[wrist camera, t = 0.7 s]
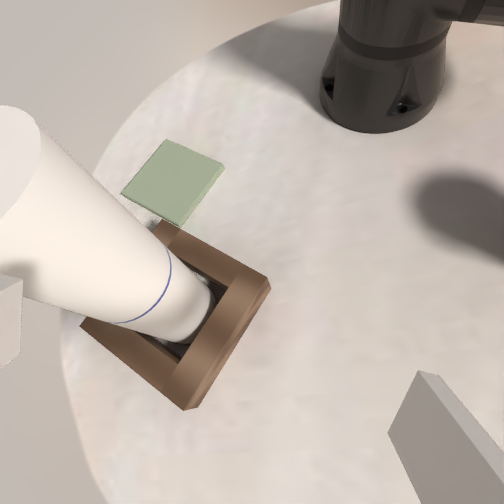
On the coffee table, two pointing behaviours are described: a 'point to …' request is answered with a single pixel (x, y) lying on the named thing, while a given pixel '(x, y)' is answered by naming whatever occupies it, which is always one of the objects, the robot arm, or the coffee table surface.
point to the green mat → (173, 182)
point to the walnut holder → (210, 336)
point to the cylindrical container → (87, 242)
